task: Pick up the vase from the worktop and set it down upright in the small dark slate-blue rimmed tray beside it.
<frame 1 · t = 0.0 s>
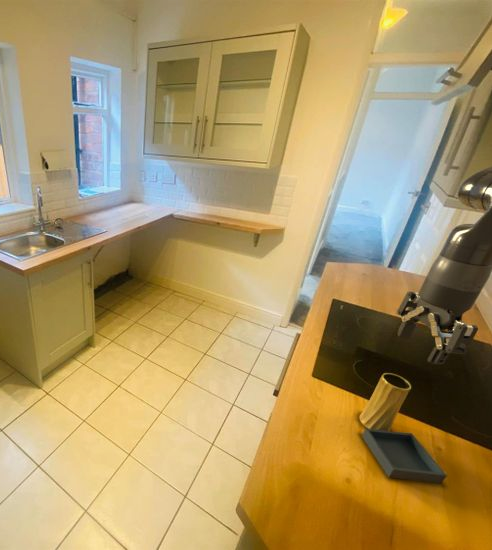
hand: (417, 349, 64), 24 cm above the countertop, tool pointing down, fingers open, 8 cm apart
vase: (373, 424, 75), on the countertop
tray: (398, 458, 67), on the countertop
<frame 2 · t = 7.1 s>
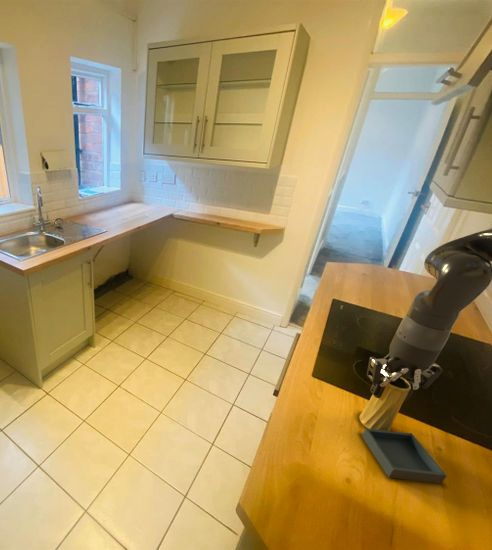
hand: (388, 396, 71), 9 cm above the countertop, tool pointing down, fingers closed on vase, 5 cm apart
vase: (373, 424, 75), on the countertop, touching gripper
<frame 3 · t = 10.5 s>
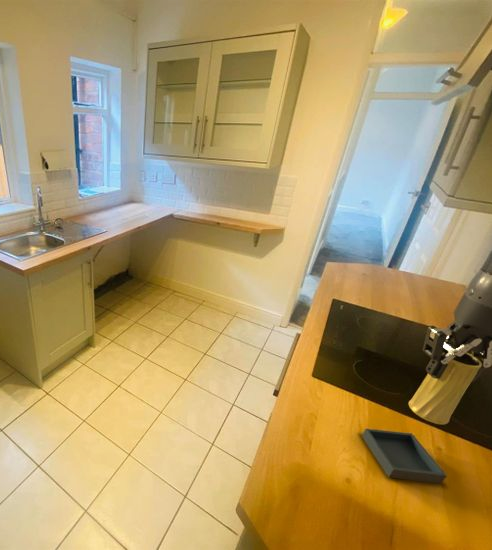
hand: (449, 376, 57), 24 cm above the countertop, tool pointing down, fingers closed on vase, 5 cm apart
vase: (427, 412, 61), point 14 cm above the countertop, touching gripper
when the fingers open (10 cm above the countertop, at t = 14.0 s): vase stays where it is, resting on tray.
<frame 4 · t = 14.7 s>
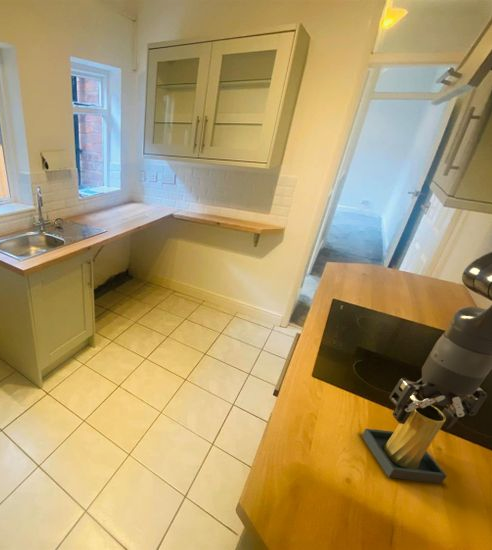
hand: (420, 422, 63), 11 cm above the countertop, tool pointing down, fingers open, 8 cm apart
vase: (399, 457, 67), resting on tray
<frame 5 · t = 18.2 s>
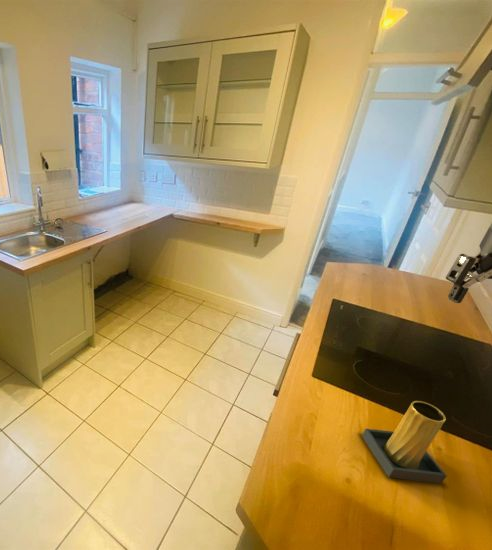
hand: (475, 302, 65), 33 cm above the countertop, tool pointing down, fingers open, 8 cm apart
nothing on the countertop moved.
at the end: vase inside the target area in the tray (0.1 cm from its centre), point 0.4 cm above the tray's base; vase tilted 0°; the gripper is holding nothing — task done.
